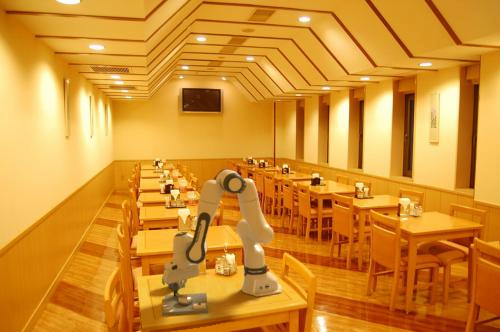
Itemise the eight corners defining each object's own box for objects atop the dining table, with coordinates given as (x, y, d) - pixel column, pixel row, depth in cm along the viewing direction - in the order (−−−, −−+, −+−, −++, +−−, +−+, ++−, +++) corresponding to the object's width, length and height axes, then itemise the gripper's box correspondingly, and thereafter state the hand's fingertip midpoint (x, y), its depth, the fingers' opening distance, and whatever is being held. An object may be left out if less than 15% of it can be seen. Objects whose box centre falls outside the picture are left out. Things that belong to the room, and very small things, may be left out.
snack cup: (184, 281, 238) (183, 264, 237) (191, 287, 230) (191, 270, 229) (158, 287, 230) (158, 270, 229) (165, 293, 221) (165, 275, 220)
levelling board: (206, 295, 218) (206, 288, 218) (208, 313, 199) (207, 304, 198) (163, 298, 215) (163, 290, 215) (161, 316, 195) (160, 307, 195)
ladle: (195, 303, 205) (194, 291, 205) (182, 306, 201) (182, 294, 200) (180, 293, 217) (180, 282, 216) (168, 296, 213) (168, 285, 212)
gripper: (195, 257, 223) (195, 281, 225) (161, 265, 211) (162, 290, 212) (201, 260, 219) (201, 284, 220) (167, 268, 206) (167, 294, 207)
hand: (182, 287), depth 216 cm, fingers closed
